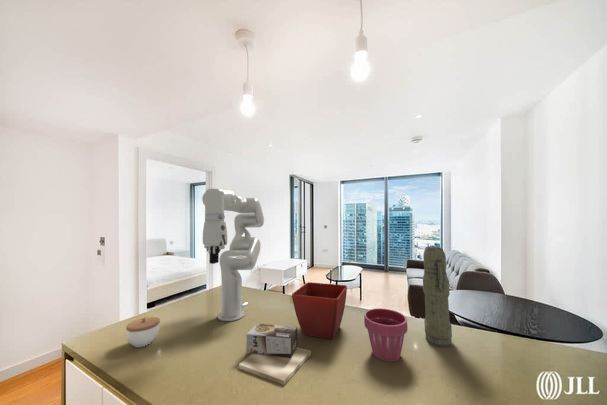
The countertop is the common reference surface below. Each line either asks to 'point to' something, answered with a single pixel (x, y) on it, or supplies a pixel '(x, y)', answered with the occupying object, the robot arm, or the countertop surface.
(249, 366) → the birch board
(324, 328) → the plant pot
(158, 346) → the countertop surface
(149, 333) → the lidded jar
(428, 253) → the moai statue figurine
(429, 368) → the countertop surface
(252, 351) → the coffee box
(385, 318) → the plant pot
